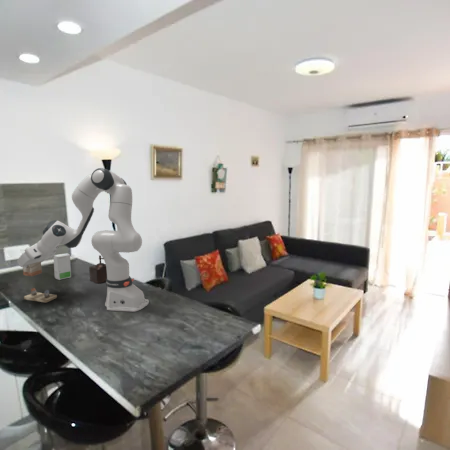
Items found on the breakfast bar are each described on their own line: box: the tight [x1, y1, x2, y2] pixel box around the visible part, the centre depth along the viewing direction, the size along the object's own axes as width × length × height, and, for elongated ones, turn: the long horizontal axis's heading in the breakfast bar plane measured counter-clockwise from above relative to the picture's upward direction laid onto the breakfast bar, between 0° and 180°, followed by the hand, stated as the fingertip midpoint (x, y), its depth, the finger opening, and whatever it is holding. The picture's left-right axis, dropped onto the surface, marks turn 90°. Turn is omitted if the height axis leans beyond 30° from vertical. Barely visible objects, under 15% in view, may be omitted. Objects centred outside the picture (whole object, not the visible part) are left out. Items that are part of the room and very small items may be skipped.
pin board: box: [23, 287, 58, 304], centre depth 161 cm, size 15×7×5 cm, turn 74°
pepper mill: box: [88, 254, 107, 284], centre depth 193 cm, size 16×11×18 cm
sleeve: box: [22, 261, 43, 277], centre depth 161 cm, size 6×6×9 cm
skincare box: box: [53, 253, 72, 281], centre depth 195 cm, size 8×7×16 cm
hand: (31, 265), depth 161 cm, fingers closed on sleeve, 6 cm apart
